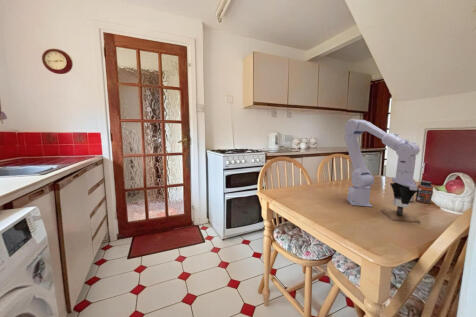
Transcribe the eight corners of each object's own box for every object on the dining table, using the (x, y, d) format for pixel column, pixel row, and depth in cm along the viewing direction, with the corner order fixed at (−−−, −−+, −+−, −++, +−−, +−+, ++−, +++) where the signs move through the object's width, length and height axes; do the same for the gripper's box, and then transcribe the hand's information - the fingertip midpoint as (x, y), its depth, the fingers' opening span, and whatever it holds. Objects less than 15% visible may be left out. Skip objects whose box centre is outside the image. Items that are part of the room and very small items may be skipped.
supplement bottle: (418, 202, 102) (421, 182, 100) (413, 199, 107) (416, 179, 106) (433, 204, 99) (436, 183, 98) (427, 200, 105) (430, 180, 103)
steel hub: (397, 206, 82) (398, 199, 82) (391, 202, 87) (391, 196, 87) (411, 207, 81) (412, 201, 81) (404, 203, 86) (404, 197, 86)
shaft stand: (392, 220, 81) (393, 208, 81) (380, 210, 91) (382, 200, 90) (420, 222, 79) (421, 211, 78) (405, 213, 88) (407, 202, 88)
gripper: (428, 175, 74) (423, 208, 76) (405, 168, 88) (402, 197, 90) (406, 174, 76) (402, 206, 78) (388, 167, 90) (384, 195, 92)
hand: (401, 201), depth 84 cm, fingers closed on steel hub, 5 cm apart
